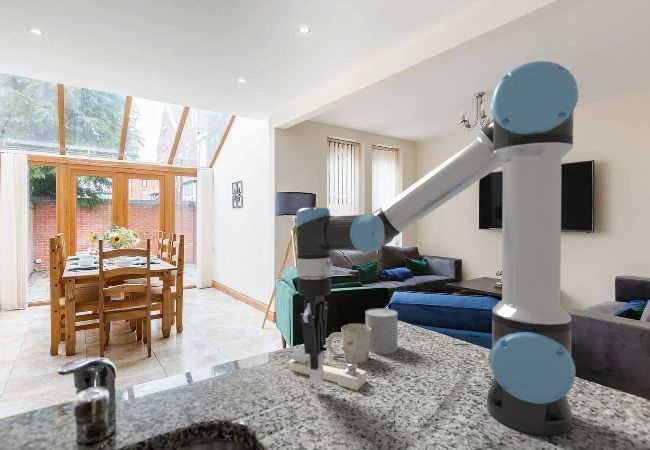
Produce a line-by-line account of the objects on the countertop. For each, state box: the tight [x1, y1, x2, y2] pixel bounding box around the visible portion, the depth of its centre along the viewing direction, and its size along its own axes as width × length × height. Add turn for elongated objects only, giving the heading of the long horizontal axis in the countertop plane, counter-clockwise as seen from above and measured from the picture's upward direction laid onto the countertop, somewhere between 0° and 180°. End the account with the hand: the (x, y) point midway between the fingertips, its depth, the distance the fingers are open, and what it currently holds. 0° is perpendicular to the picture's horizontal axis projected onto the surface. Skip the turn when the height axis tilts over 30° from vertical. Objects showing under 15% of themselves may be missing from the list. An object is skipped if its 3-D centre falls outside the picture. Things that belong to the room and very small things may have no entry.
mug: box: [326, 323, 371, 364], centre depth 102 cm, size 8×13×10 cm, turn 78°
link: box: [289, 359, 367, 391], centre depth 90 cm, size 20×5×2 cm, turn 58°
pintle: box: [346, 362, 359, 376], centre depth 86 cm, size 3×3×5 cm
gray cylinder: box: [364, 307, 399, 355], centre depth 109 cm, size 10×10×12 cm
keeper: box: [288, 347, 325, 365], centre depth 96 cm, size 5×8×5 cm, turn 144°
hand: (316, 381), depth 82 cm, fingers closed
